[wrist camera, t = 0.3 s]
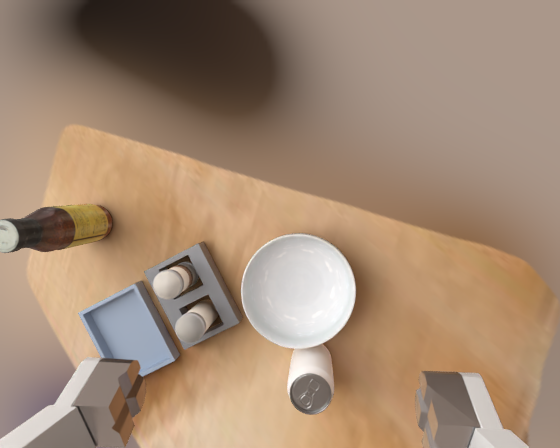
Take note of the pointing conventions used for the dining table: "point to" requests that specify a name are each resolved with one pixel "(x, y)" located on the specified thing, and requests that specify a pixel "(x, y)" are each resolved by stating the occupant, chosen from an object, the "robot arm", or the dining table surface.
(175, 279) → the fuse
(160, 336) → the parts tray
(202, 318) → the block
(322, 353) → the can
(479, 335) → the dining table surface
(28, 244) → the sauce bottle
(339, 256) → the cereal bowl
